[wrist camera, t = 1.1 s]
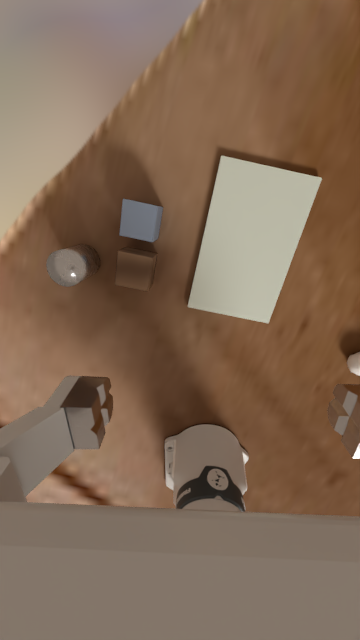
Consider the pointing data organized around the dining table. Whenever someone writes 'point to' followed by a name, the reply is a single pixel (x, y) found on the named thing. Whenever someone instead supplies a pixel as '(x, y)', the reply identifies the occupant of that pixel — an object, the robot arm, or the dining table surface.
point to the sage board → (250, 238)
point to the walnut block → (135, 268)
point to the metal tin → (72, 264)
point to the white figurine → (354, 363)
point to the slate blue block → (140, 220)
